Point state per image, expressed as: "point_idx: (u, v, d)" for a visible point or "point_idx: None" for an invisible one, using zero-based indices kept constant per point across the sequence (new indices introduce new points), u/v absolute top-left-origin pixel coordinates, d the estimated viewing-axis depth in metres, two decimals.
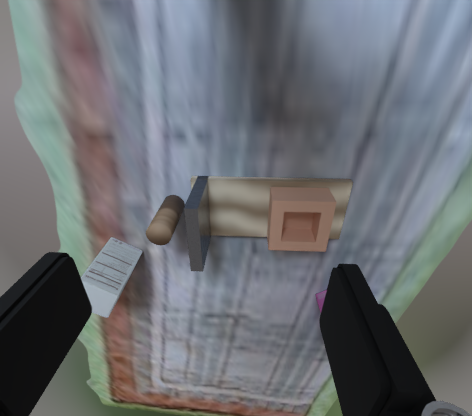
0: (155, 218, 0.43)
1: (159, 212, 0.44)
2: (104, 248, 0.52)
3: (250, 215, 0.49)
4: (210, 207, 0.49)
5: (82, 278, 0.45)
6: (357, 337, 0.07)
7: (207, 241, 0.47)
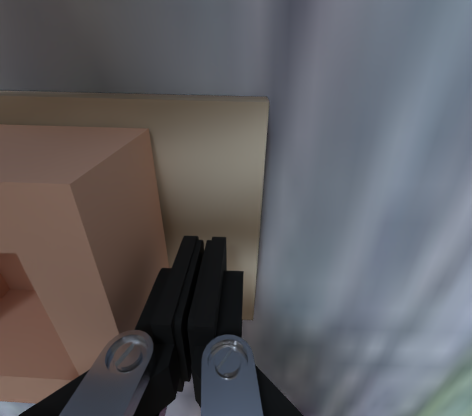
0: None
1: None
2: None
3: None
4: None
5: None
6: None
7: None
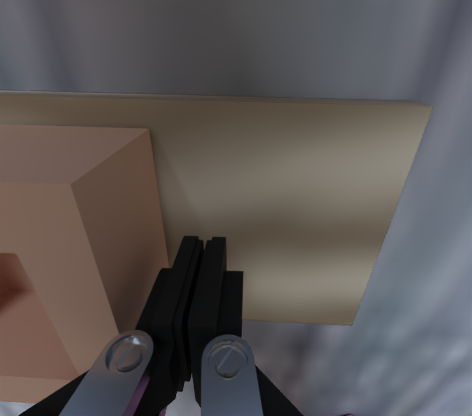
0: None
1: None
2: None
3: None
4: None
5: None
6: None
7: None
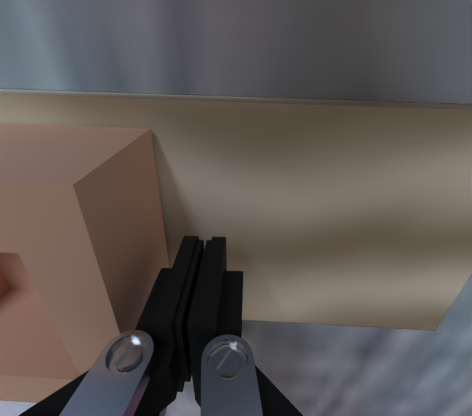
0: None
1: None
2: None
3: None
4: None
5: None
6: None
7: None
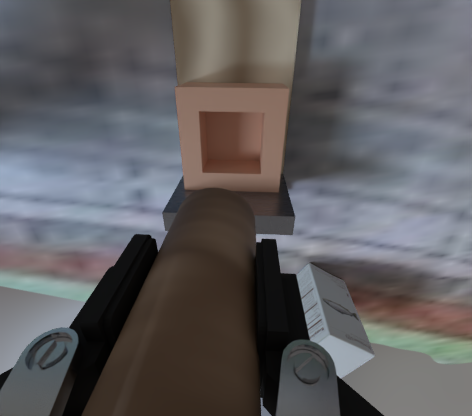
0: None
1: None
2: None
3: None
4: None
5: None
6: (257, 296, 0.08)
7: None
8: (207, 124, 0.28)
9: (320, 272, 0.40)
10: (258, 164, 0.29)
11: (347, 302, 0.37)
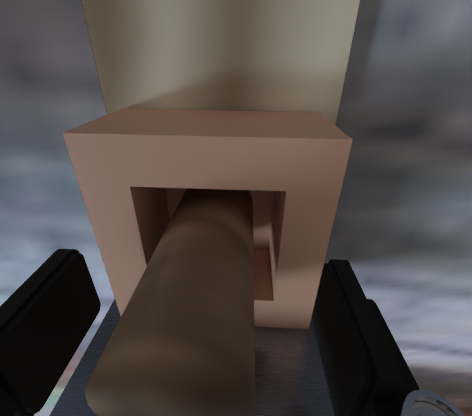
0: None
1: None
2: None
3: None
4: None
5: None
6: (345, 330, 0.07)
7: None
8: (168, 189, 0.15)
9: None
10: (267, 262, 0.15)
11: None
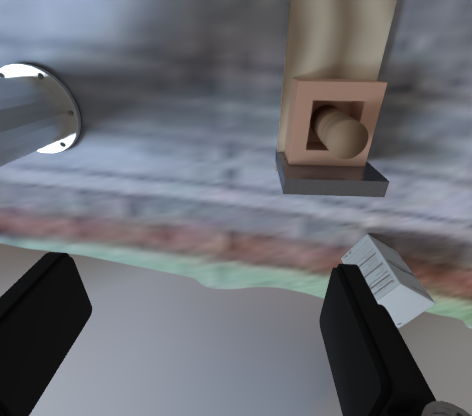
0: (324, 142, 0.29)
1: (320, 136, 0.31)
2: None
3: None
4: None
5: None
6: (357, 337, 0.07)
7: None
8: None
9: (377, 241, 0.47)
10: None
11: (404, 265, 0.44)
